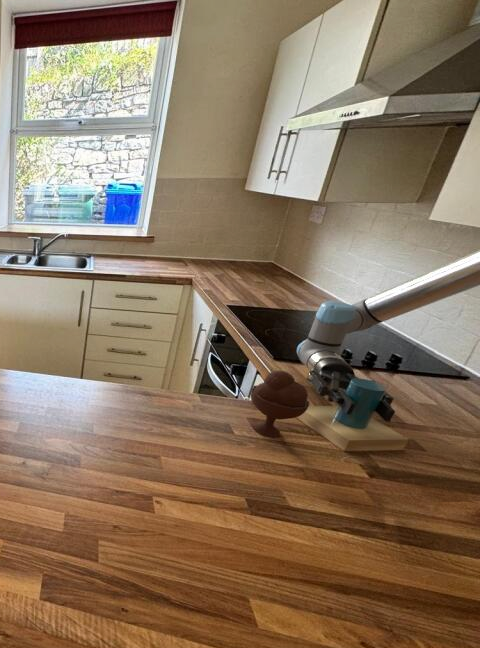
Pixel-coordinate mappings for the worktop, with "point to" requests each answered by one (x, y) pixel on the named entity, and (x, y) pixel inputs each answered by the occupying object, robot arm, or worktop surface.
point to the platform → (351, 431)
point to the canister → (361, 403)
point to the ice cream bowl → (278, 401)
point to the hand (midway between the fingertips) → (370, 412)
